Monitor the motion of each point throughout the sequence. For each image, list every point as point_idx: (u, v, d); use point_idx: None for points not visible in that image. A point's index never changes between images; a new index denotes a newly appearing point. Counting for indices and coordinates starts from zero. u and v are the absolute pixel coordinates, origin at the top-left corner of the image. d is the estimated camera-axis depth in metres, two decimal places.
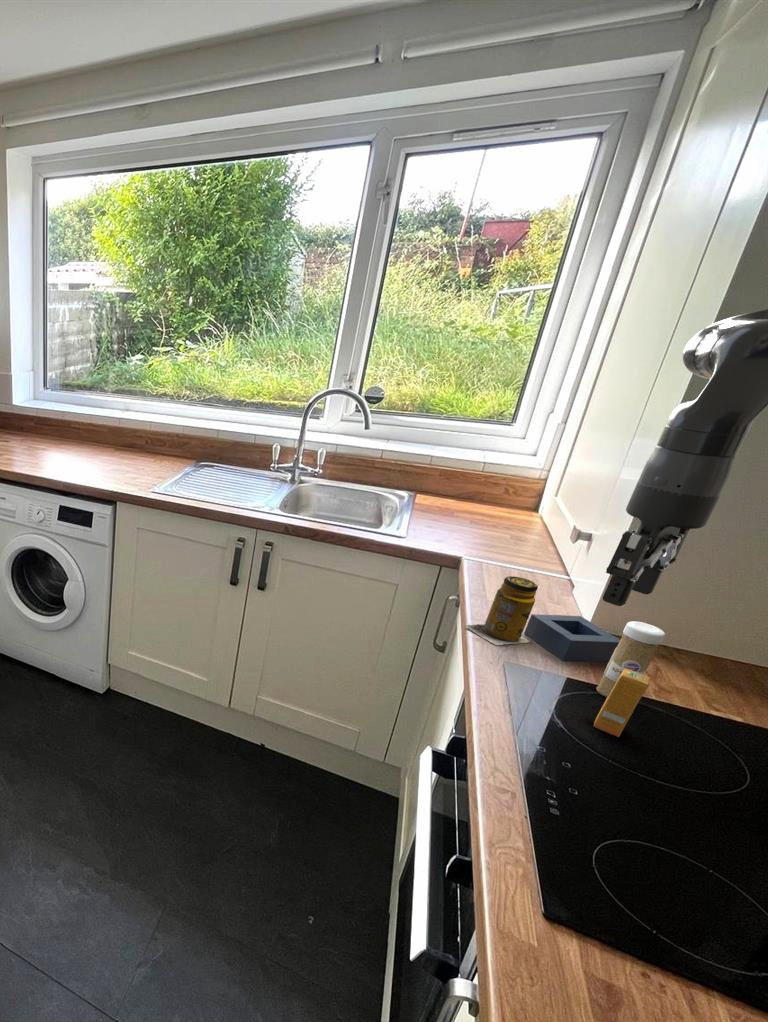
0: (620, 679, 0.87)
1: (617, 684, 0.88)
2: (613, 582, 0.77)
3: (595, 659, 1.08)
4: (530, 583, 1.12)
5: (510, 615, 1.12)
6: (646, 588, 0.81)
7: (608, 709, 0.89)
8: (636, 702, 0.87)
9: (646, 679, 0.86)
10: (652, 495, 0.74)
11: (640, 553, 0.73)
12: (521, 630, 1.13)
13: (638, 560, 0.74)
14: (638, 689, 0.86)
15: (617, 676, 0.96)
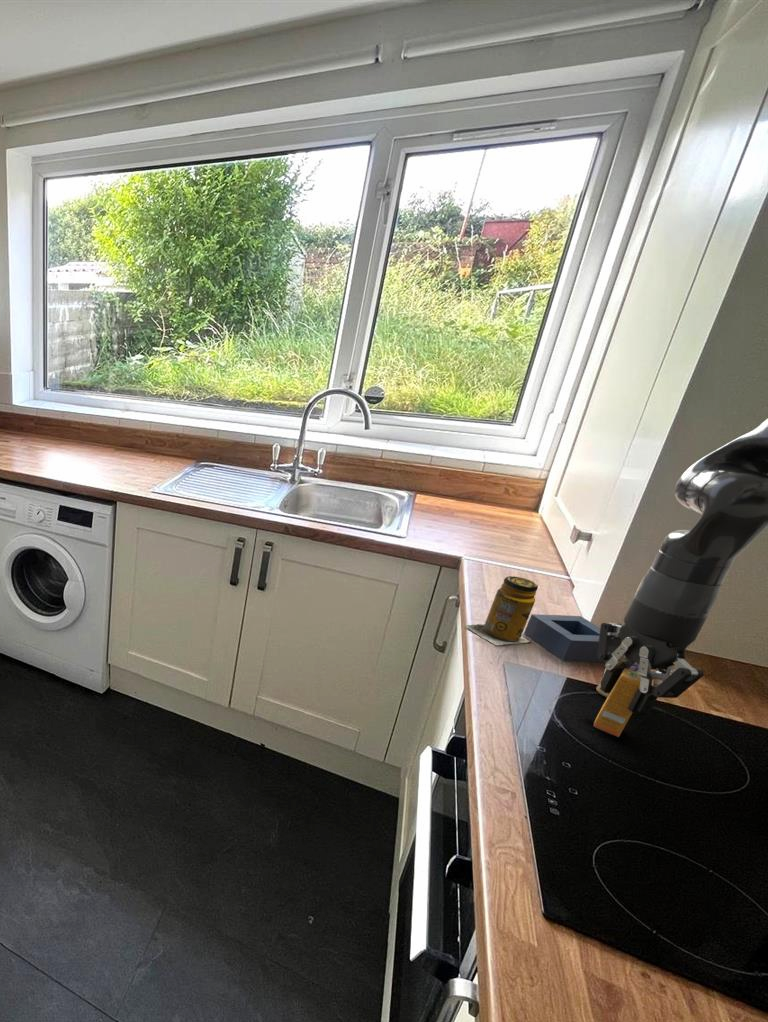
0: (620, 679, 0.87)
1: (617, 684, 0.88)
2: (648, 698, 0.85)
3: (595, 659, 1.08)
4: (530, 583, 1.12)
5: (510, 615, 1.12)
6: None
7: (608, 709, 0.89)
8: None
9: None
10: (682, 623, 0.80)
11: (693, 683, 0.80)
12: (521, 630, 1.13)
13: None
14: (638, 689, 0.86)
15: None
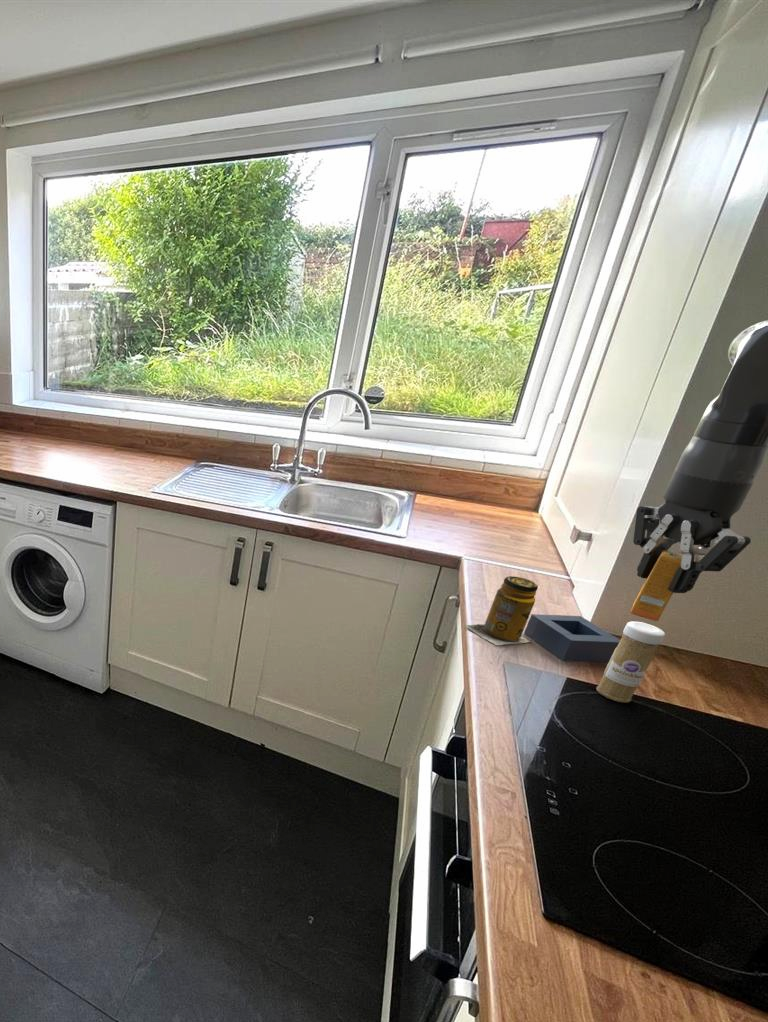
0: (660, 559, 0.85)
1: (656, 565, 0.85)
2: (690, 575, 0.82)
3: (595, 659, 1.08)
4: (530, 583, 1.12)
5: (510, 615, 1.12)
6: None
7: (647, 593, 0.86)
8: None
9: None
10: (728, 489, 0.77)
11: (739, 552, 0.78)
12: (521, 630, 1.13)
13: None
14: (679, 567, 0.83)
15: (617, 676, 0.96)
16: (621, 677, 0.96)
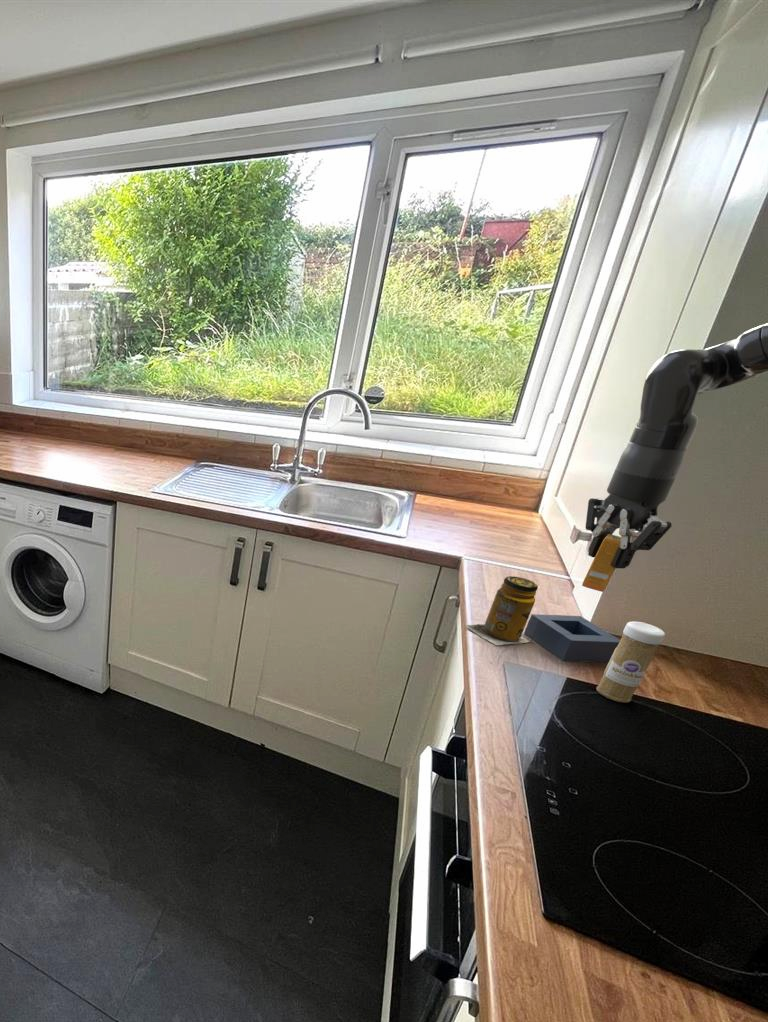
0: (604, 541, 1.04)
1: (601, 546, 1.05)
2: (627, 553, 1.02)
3: (595, 659, 1.08)
4: (530, 583, 1.12)
5: (510, 615, 1.12)
6: None
7: (594, 568, 1.06)
8: None
9: None
10: (654, 484, 0.97)
11: (663, 534, 0.97)
12: (521, 630, 1.13)
13: (659, 538, 0.98)
14: (619, 547, 1.03)
15: (617, 676, 0.96)
16: (621, 677, 0.96)
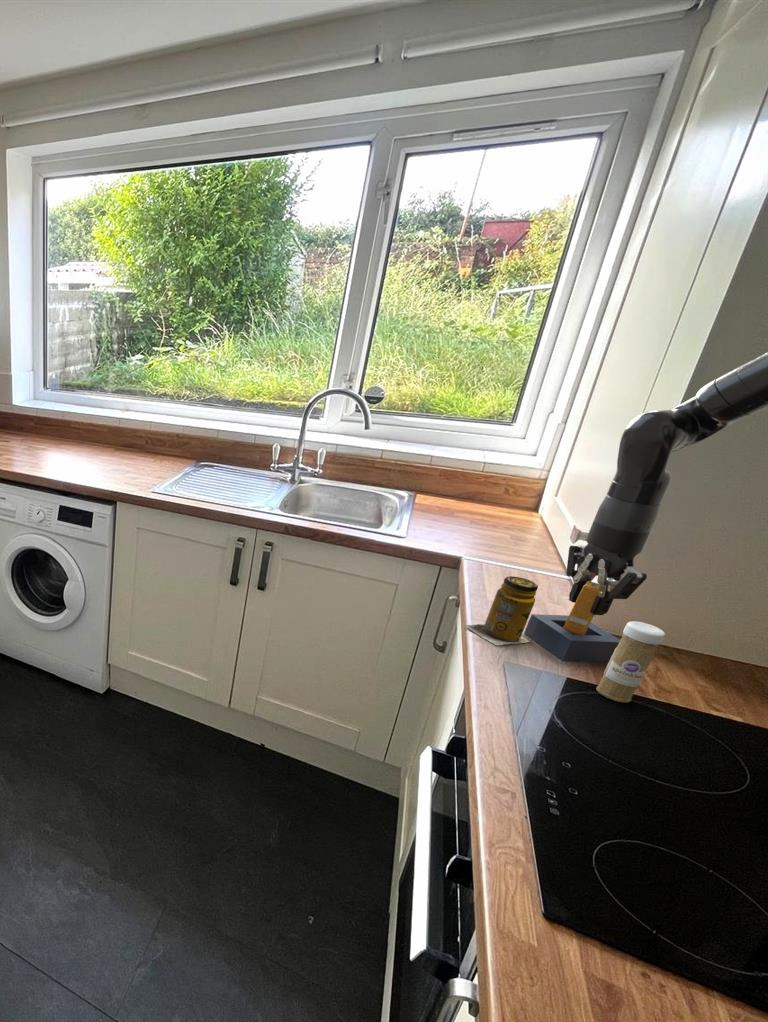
0: (583, 588, 1.08)
1: (581, 593, 1.08)
2: (605, 601, 1.05)
3: (595, 659, 1.08)
4: (530, 583, 1.12)
5: (510, 615, 1.12)
6: None
7: (574, 614, 1.10)
8: None
9: None
10: (630, 537, 1.01)
11: (639, 585, 1.01)
12: (521, 630, 1.13)
13: None
14: None
15: (617, 676, 0.96)
16: (621, 677, 0.96)
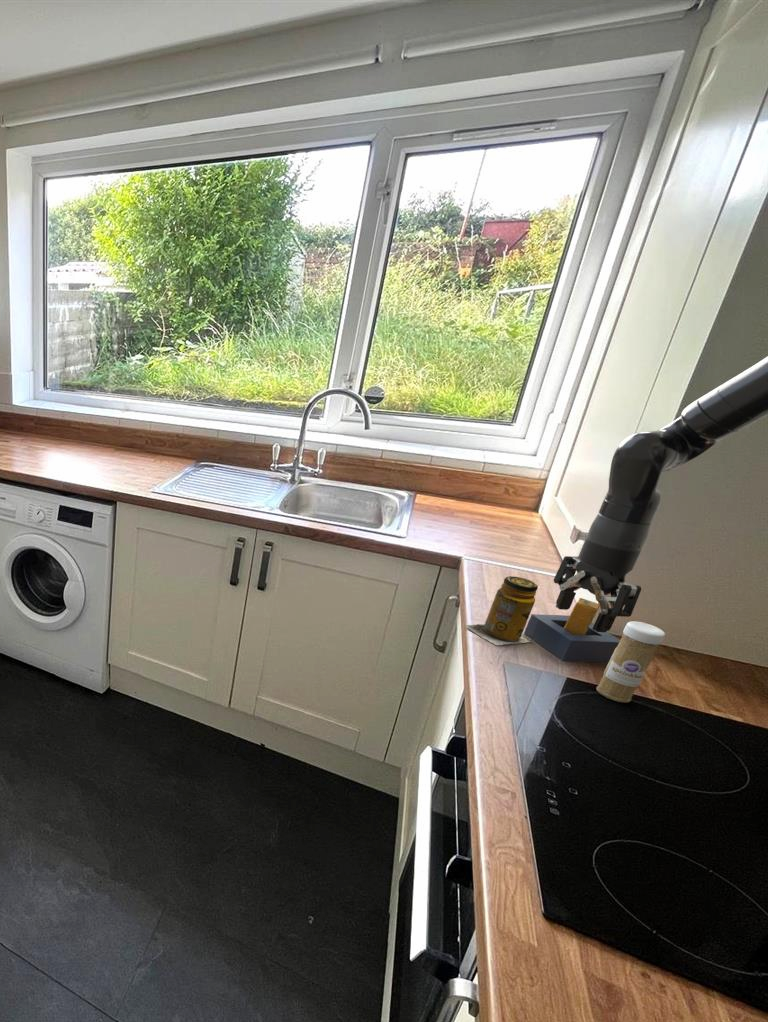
0: (576, 606, 1.09)
1: (573, 610, 1.10)
2: (608, 619, 1.05)
3: (595, 659, 1.08)
4: (530, 583, 1.12)
5: (510, 615, 1.12)
6: (567, 605, 1.14)
7: None
8: (588, 623, 1.09)
9: (596, 605, 1.09)
10: (622, 555, 1.02)
11: (637, 598, 1.01)
12: (521, 630, 1.13)
13: None
14: (590, 612, 1.08)
15: (617, 676, 0.96)
16: (621, 677, 0.96)
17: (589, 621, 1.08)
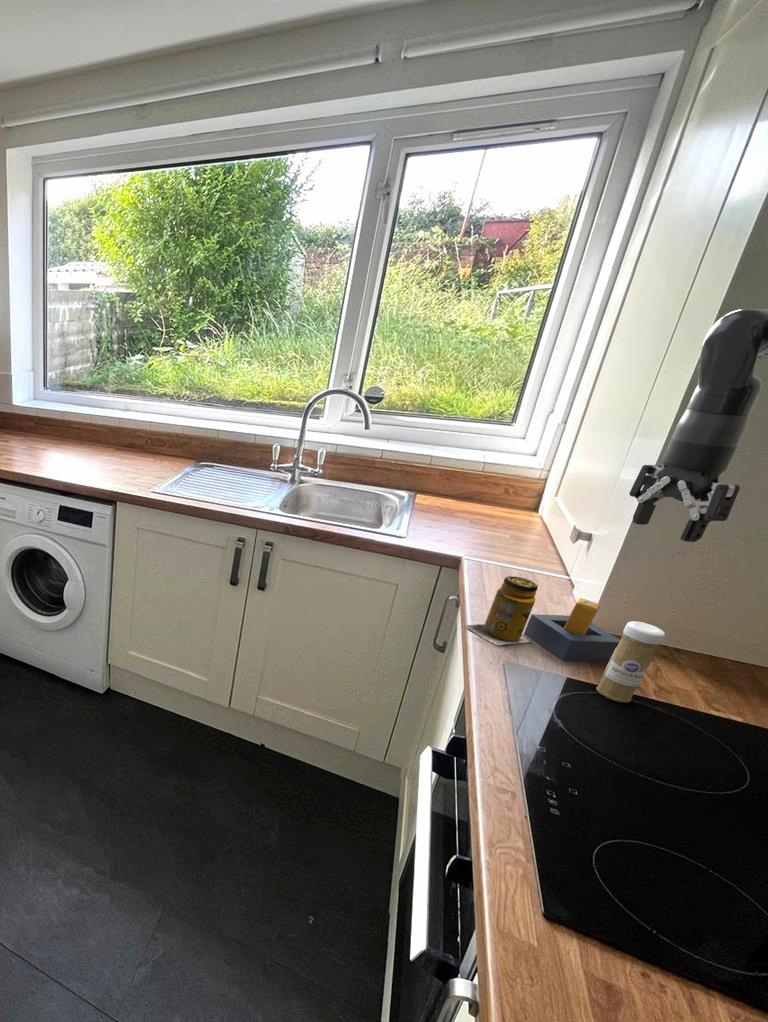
0: (576, 606, 1.09)
1: (573, 610, 1.10)
2: (699, 525, 0.95)
3: (595, 659, 1.08)
4: (530, 583, 1.12)
5: (510, 615, 1.12)
6: (646, 520, 1.04)
7: None
8: (588, 623, 1.09)
9: (596, 605, 1.09)
10: (716, 452, 0.92)
11: (735, 498, 0.92)
12: (521, 630, 1.13)
13: None
14: (590, 612, 1.08)
15: (617, 676, 0.96)
16: (621, 677, 0.96)
17: (589, 621, 1.08)
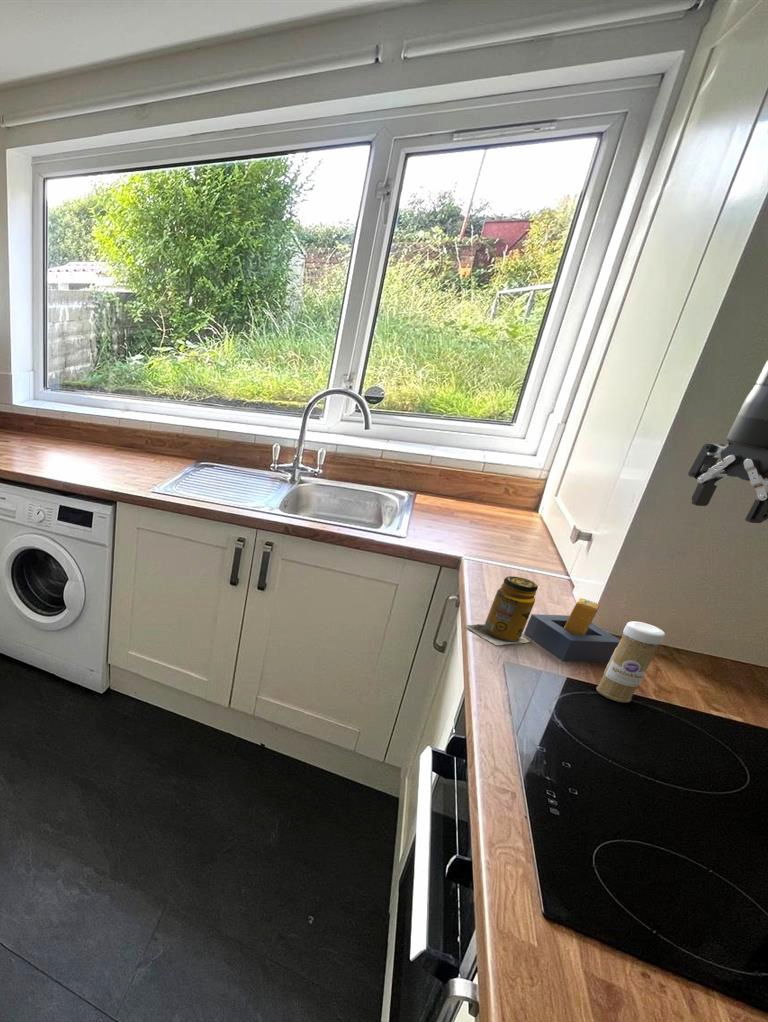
0: (576, 606, 1.09)
1: (573, 610, 1.10)
2: (767, 505, 0.91)
3: (595, 659, 1.08)
4: (530, 583, 1.12)
5: (510, 615, 1.12)
6: (706, 501, 1.00)
7: None
8: (588, 623, 1.09)
9: (596, 605, 1.09)
10: None
11: None
12: (521, 630, 1.13)
13: None
14: (590, 612, 1.08)
15: (617, 676, 0.96)
16: (621, 677, 0.96)
17: (589, 621, 1.08)
